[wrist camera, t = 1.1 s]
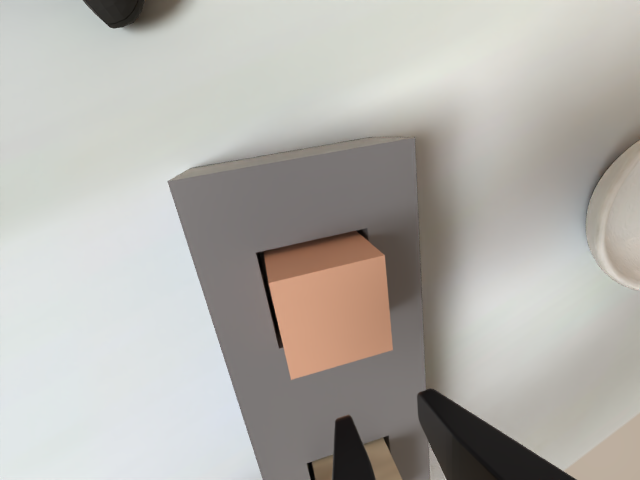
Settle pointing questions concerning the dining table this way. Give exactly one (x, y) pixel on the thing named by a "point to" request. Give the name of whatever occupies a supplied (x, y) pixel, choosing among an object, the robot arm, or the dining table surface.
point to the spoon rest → (617, 220)
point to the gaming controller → (116, 11)
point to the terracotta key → (329, 301)
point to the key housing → (258, 309)
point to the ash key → (379, 458)
